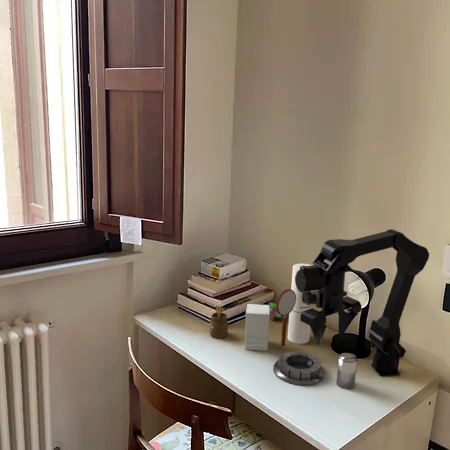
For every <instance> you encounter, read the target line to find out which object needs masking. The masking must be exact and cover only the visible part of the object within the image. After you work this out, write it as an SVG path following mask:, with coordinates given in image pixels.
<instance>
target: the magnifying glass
mask: <svg viewBox="0 0 450 450" xmlns="http://www.w3.org/2000/svg"><path fill="white" fill-rule="evenodd" d="M295 302H296V295H295V292H294V291H293V290H291V288H285V289H284V290H283V291H282V292H281V293H279V295H278V297H277V299H276V303H275V304H276V310H277V312H278V314H279V315H281V317H282V327H281V328H282V329H281V342H280V343H281V344H280V345H281V349H284V348H285V346H286V335H287V325H288V324H287V323H288V316H289V313H290V312H291V311H292V310H293V308H294V306H295Z"/></svg>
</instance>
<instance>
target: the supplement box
mask: <svg viewBox="0 0 450 450" xmlns="http://www.w3.org/2000/svg"><path fill="white" fill-rule="evenodd" d="M270 318H271V316H270V311H269V304H268V305H267V304H254V303H247V305H246V310H245V328H244V329H245V331H244V333H245V335H244V349H245V350H249V351H250V350H252V351H264V352H267V351H268V345H269V333H270V331H269V329H270Z"/></svg>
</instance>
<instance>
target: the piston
mask: <svg viewBox="0 0 450 450" xmlns="http://www.w3.org/2000/svg"><path fill="white" fill-rule="evenodd" d="M337 362H338V363H337V364H338V365H337V373H336V382H335V383H336V384H335V385H336V386H337V387H338V388H340V389H342V390H352V389H354V388H355V383H356V375H357V366H358V358H357V356H356V355H355V354H353V353H351V352H350V353H349V352H343V353H341V354H340V355H339V356H338V361H337Z"/></svg>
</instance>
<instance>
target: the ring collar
mask: <svg viewBox="0 0 450 450" xmlns="http://www.w3.org/2000/svg"><path fill="white" fill-rule="evenodd" d="M272 370H273V373H274V375H275V376H276V377H277V378H278V379H280V380H281V381H283V382H284V383H287V384H289V385H293V386H294V385H295V386H302V387H305V386H306V387H307V386H314V385H317V384H319V383H321V382H323V381H324V379H325V377H326V370H325V367H323V365H322V362H321V360H320V359H319V358H318V357H316V356H315V355H313V354H311V353H308V352H303V351H289V352H286V353H283V354H281V355H280V357H279V358H278V360H277V361H276V362H275V363H274V364H273V369H272Z"/></svg>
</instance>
